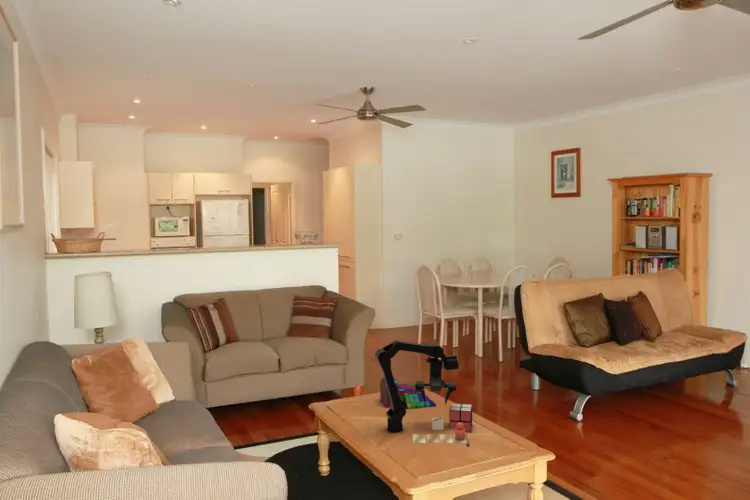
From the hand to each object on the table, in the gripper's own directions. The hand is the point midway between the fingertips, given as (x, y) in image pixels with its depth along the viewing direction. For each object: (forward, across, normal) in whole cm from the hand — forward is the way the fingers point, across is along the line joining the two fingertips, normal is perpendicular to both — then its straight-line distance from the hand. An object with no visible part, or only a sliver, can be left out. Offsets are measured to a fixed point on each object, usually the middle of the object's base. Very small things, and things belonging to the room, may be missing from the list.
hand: (435, 404), depth 292 cm
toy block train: (+12, -14, +35) cm, 40 cm away
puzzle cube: (+12, +12, +2) cm, 17 cm away
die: (+12, +1, -2) cm, 12 cm away
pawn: (+10, +11, -15) cm, 21 cm away
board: (+12, +2, -15) cm, 19 cm away
